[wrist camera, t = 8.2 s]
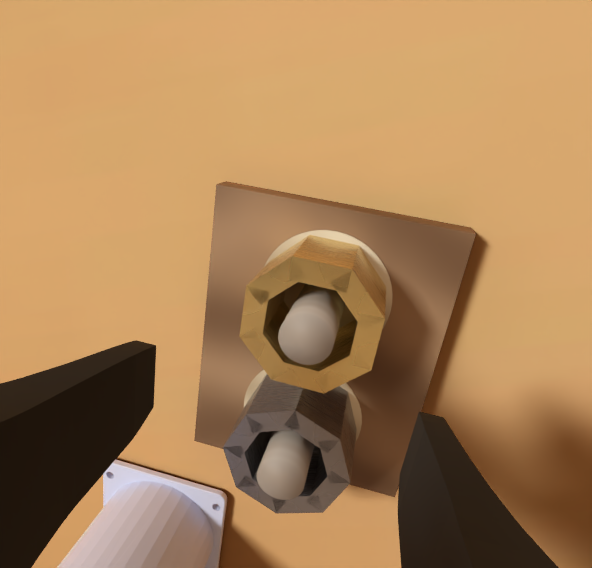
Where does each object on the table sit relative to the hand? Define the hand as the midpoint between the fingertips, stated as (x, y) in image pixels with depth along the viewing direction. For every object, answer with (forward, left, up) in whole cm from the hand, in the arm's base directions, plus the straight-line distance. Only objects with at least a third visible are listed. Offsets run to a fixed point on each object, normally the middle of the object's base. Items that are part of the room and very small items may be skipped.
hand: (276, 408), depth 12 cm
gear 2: (-6, 0, -8) cm, 11 cm away
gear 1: (0, 0, -8) cm, 9 cm away
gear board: (-3, 0, -10) cm, 10 cm away
